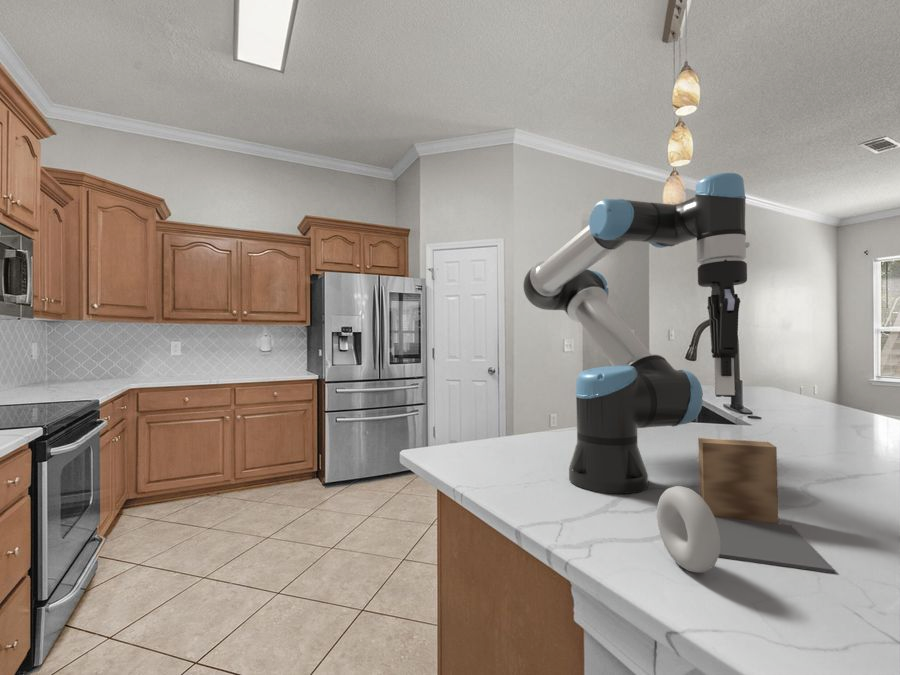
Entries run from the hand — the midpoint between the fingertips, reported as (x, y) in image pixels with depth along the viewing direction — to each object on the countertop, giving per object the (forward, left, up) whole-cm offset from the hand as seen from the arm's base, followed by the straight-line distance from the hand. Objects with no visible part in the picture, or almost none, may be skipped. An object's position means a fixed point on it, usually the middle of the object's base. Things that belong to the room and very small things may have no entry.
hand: (724, 394), depth 78 cm
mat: (0, -17, -19) cm, 25 cm away
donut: (-10, -28, -19) cm, 36 cm away
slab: (0, -7, -19) cm, 20 cm away
